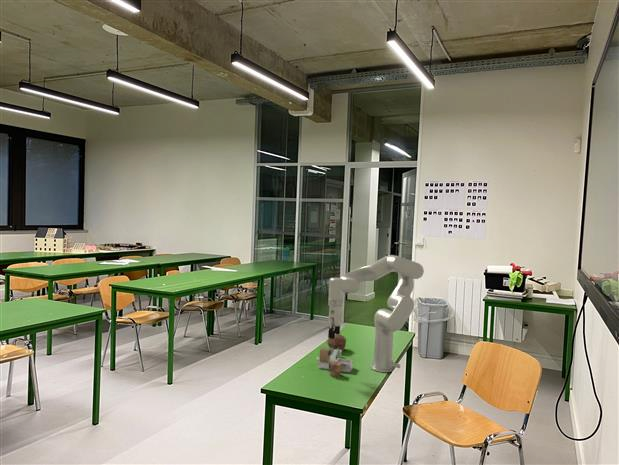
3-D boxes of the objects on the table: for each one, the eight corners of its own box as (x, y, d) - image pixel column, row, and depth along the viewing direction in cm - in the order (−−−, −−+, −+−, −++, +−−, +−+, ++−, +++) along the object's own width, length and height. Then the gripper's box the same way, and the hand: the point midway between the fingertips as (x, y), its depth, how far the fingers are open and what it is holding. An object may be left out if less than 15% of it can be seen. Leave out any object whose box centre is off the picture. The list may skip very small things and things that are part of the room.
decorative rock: (342, 354, 254) (343, 337, 254) (323, 351, 259) (324, 334, 258) (348, 348, 267) (349, 332, 266) (331, 345, 271) (331, 329, 270)
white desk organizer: (352, 367, 232) (353, 350, 232) (349, 372, 224) (350, 355, 224) (321, 363, 237) (322, 346, 237) (317, 367, 229) (318, 350, 229)
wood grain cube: (340, 374, 221) (341, 362, 221) (338, 377, 217) (339, 365, 217) (330, 372, 223) (331, 361, 223) (328, 375, 219) (328, 363, 218)
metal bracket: (319, 344, 254) (345, 346, 251) (320, 352, 256) (345, 355, 253) (314, 358, 241) (341, 361, 237) (315, 367, 242) (341, 370, 239)
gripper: (338, 306, 211) (336, 341, 212) (347, 300, 228) (345, 333, 228) (323, 304, 214) (321, 339, 214) (333, 298, 230) (331, 331, 231)
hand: (334, 336), depth 221 cm, fingers open, 9 cm apart
